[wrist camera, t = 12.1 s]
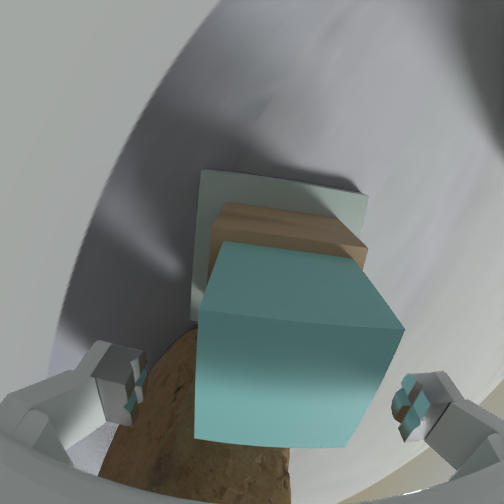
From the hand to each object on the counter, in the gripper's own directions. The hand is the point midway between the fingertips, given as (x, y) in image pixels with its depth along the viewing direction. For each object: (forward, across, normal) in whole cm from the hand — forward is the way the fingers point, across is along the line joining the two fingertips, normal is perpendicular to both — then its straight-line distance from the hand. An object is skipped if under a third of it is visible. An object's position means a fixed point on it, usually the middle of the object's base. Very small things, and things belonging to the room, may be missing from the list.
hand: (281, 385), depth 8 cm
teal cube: (+4, 0, 0) cm, 4 cm away
